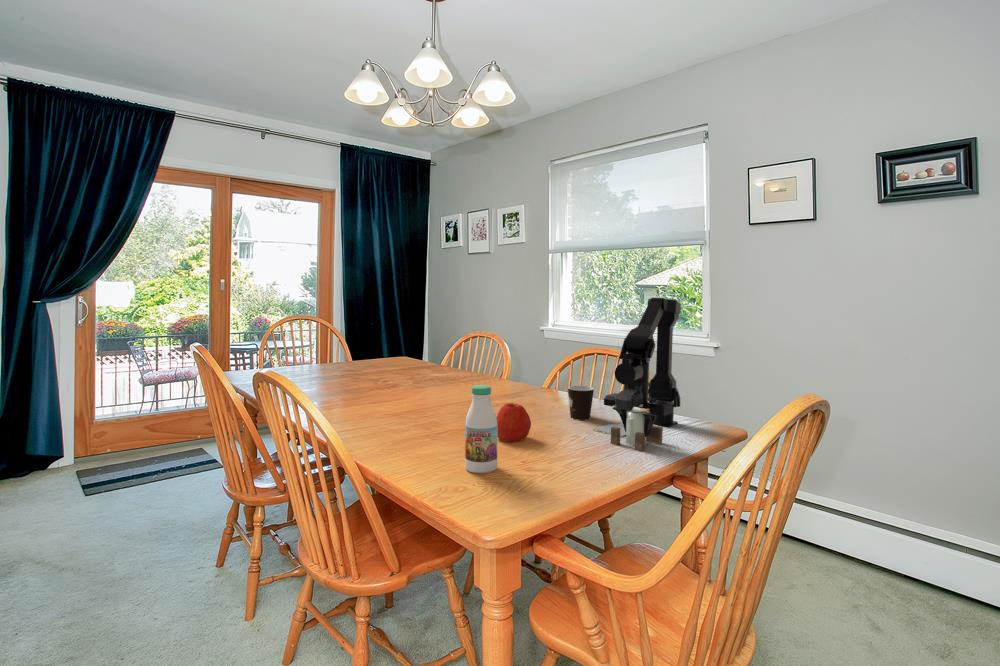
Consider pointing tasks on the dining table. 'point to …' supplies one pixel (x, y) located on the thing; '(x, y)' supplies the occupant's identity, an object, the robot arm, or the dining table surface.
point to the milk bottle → (481, 432)
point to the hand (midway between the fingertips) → (636, 434)
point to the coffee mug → (580, 401)
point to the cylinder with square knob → (634, 425)
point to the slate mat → (608, 429)
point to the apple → (513, 423)
